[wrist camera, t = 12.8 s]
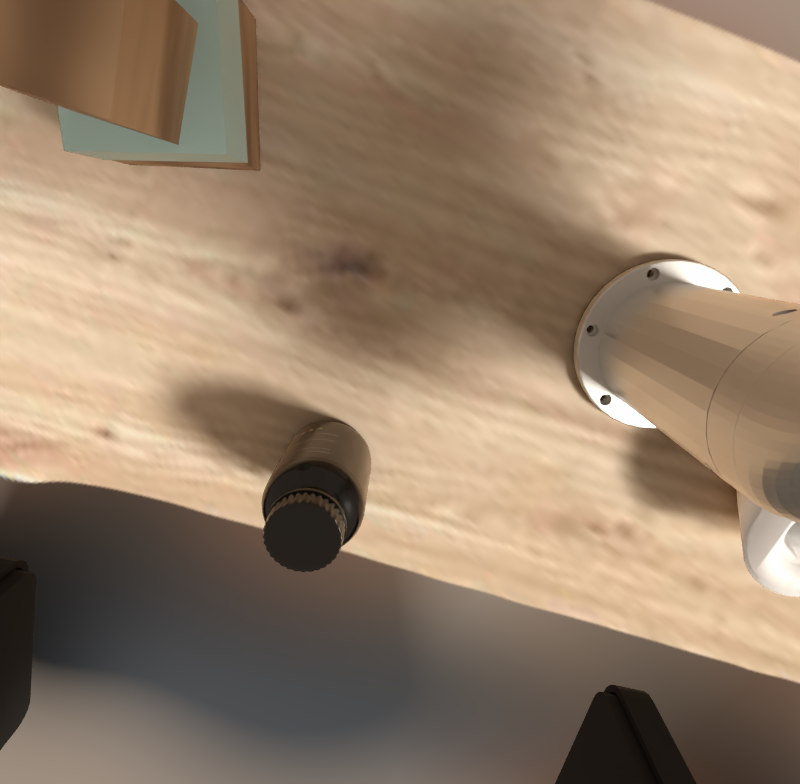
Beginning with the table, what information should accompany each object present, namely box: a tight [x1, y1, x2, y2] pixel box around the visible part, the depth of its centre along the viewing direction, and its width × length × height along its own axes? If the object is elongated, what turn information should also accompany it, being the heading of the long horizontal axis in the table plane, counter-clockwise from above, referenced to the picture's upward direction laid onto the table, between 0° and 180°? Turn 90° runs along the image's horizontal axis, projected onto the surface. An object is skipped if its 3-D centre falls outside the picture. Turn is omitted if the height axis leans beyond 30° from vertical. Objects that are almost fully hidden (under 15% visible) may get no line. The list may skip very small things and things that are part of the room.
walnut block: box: [0, 0, 198, 145], centre depth 24 cm, size 6×6×7 cm
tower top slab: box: [57, 0, 248, 163], centre depth 30 cm, size 9×9×4 cm
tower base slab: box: [113, 0, 260, 170], centre depth 33 cm, size 9×9×4 cm
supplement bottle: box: [262, 421, 371, 572], centre depth 37 cm, size 7×7×12 cm
